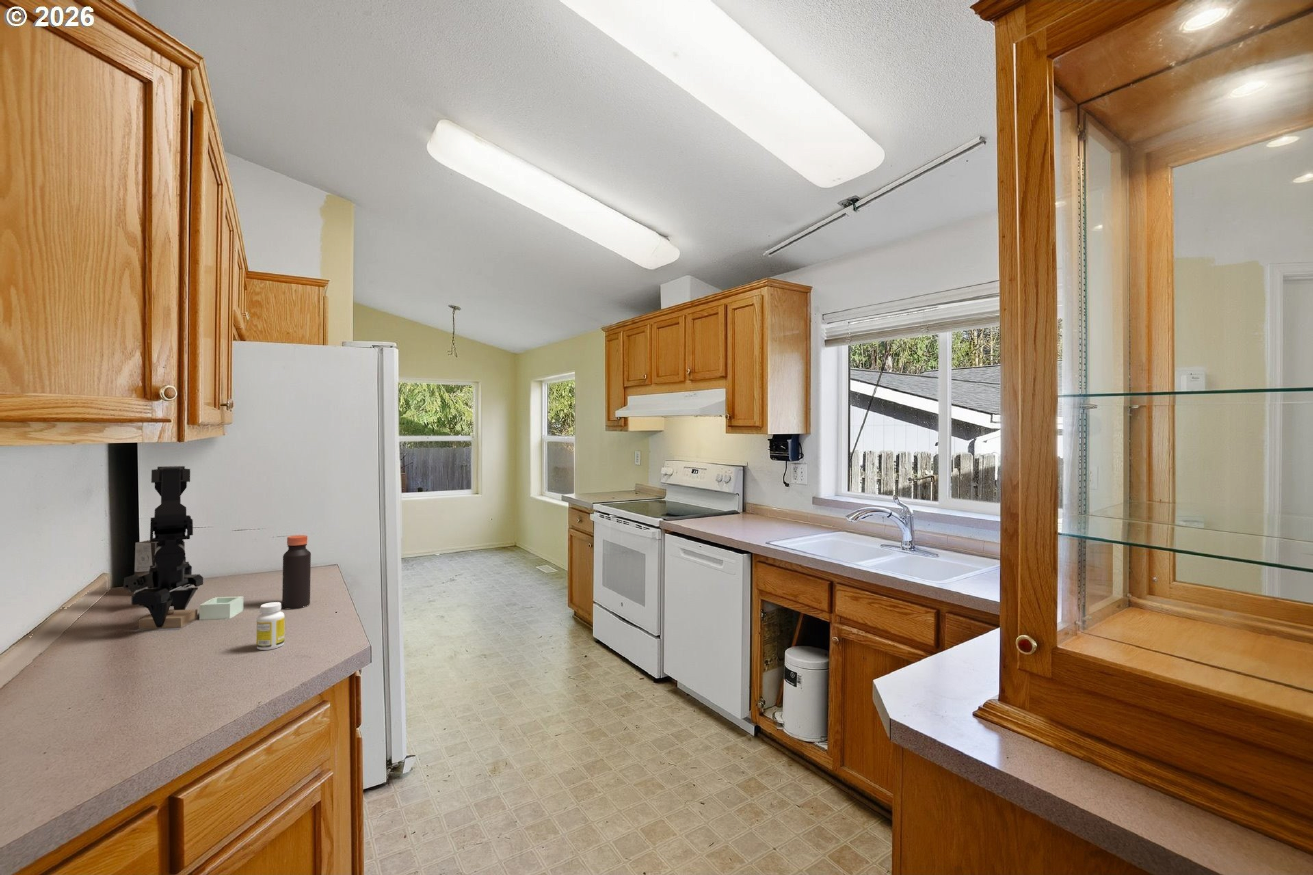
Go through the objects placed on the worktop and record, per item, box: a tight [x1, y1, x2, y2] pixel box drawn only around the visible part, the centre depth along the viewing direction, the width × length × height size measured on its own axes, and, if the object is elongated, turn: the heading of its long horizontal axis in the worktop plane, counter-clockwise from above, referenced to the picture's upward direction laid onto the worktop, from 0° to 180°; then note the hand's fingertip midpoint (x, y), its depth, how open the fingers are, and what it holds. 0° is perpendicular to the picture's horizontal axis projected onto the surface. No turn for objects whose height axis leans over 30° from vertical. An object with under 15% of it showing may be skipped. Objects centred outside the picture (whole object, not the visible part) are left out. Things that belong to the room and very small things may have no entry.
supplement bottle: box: [256, 601, 286, 651], centre depth 132 cm, size 5×5×10 cm
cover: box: [138, 608, 198, 630], centre depth 144 cm, size 7×9×4 cm
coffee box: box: [133, 539, 157, 594], centre depth 174 cm, size 9×6×16 cm
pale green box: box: [198, 595, 244, 621], centre depth 152 cm, size 7×7×4 cm
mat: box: [132, 616, 199, 633], centre depth 144 cm, size 10×10×1 cm
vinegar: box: [281, 534, 312, 609], centre depth 163 cm, size 7×7×20 cm
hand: (168, 622), depth 144 cm, fingers closed on cover, 7 cm apart
